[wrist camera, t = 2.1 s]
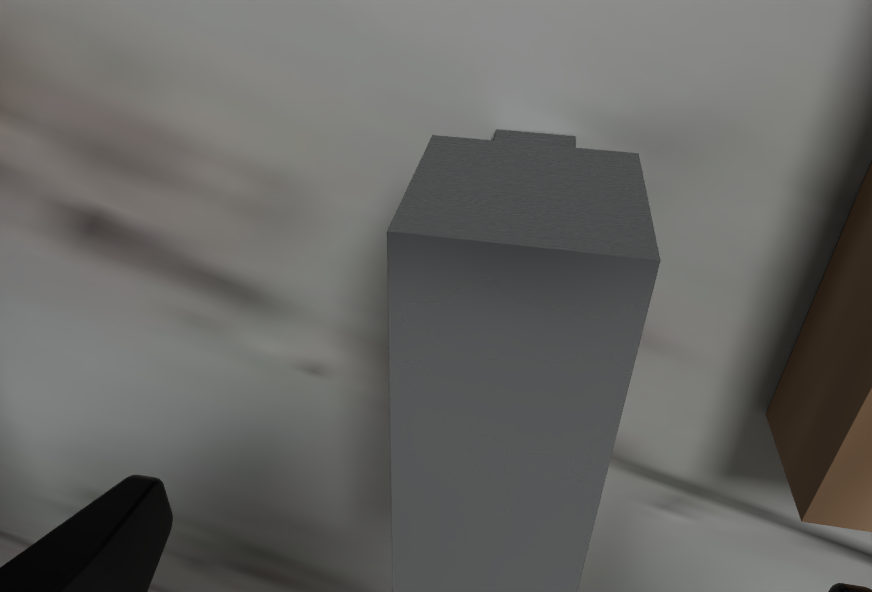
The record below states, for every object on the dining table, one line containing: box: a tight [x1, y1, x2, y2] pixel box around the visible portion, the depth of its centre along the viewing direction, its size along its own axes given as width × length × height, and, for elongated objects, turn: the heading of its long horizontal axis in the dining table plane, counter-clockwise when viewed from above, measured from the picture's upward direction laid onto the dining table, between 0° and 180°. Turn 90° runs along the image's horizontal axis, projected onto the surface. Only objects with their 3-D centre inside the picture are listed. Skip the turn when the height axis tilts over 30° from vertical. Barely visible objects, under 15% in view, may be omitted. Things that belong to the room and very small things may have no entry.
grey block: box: [387, 130, 660, 592], centre depth 12 cm, size 3×8×6 cm, turn 178°
